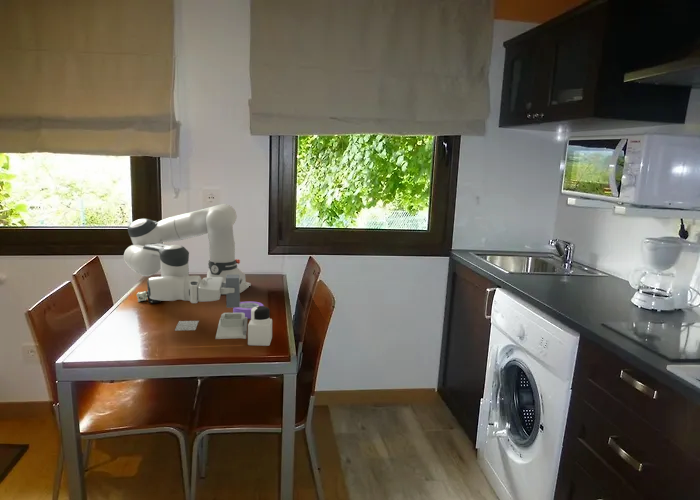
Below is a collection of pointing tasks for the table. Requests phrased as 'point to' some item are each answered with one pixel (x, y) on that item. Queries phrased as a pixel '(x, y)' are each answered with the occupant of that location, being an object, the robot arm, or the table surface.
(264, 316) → the medicine bottle
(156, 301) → the pneumatic valve
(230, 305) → the clip
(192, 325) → the grey rectangular plate
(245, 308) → the masking tape
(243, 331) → the holder
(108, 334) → the table surface
